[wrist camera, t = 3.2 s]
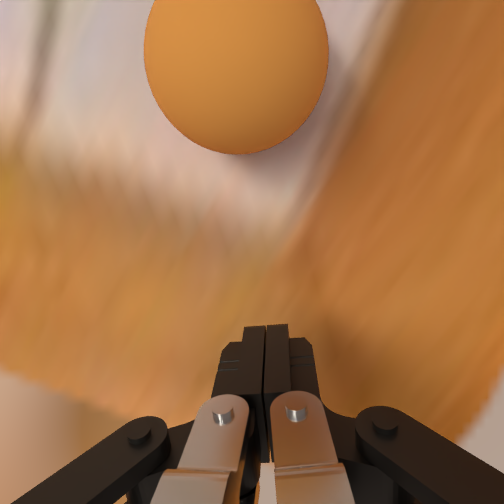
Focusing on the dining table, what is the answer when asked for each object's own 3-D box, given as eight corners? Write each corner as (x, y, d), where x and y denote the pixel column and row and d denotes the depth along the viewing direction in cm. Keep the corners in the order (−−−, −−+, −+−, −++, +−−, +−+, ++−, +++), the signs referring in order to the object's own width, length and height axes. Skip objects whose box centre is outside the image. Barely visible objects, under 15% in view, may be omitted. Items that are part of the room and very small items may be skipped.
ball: (158, -4, 14) (88, -74, 9) (313, -27, 13) (338, -115, 8) (183, 154, 16) (139, 174, 10) (321, 139, 15) (346, 152, 10)
